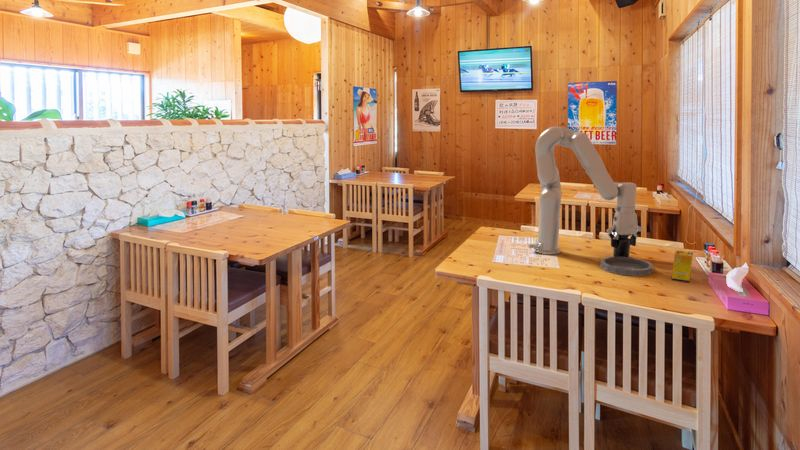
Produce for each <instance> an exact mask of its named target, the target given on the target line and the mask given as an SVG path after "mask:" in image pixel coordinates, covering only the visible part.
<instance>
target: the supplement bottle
mask: <svg viewBox="0 0 800 450" xmlns="http://www.w3.org/2000/svg"><path fill="white" fill-rule="evenodd" d="M616 239H617V247H616V248H614V247H613V250H612V252H613V254H612V257H630V252H631V245H630V244H631V240H630V235H618V237H617V238H616Z"/></svg>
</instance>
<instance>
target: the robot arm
mask: <svg viewBox="0 0 800 450" xmlns="http://www.w3.org/2000/svg"><path fill="white" fill-rule="evenodd" d="M556 145H557V146H560V147H565V148H568V149H571V150H572V151H573V153H574V155H575V156H576V158H577V160H578V161H579V163H580V165H581V167H582V168H583V170H584V171H585V173H586V175H587V176H588V177H589V179H590V180H591V183H592V184H593V185H594V187H595V188H596V190H597V193H598V194H599V196H600V197H601V198H602V199H603V200H605V201H613V200H615V199H616V207H615V208H614V211H615V213H614V216H613V221H612V225H611V226H610V227H609V228H607V229H606V233H607V236H608V237H609V238H610V246H611V248H613V249H614V248H616V247H617V239H616V238H617V237H618V235H629V239H630V240H631V244H630V246H632V247H636V243H637V238H638V236H639V235H640V234H641V231H642V229H643V227H642V226H640V225H638V224H639V223H638V214H637V212H636V202H637V201H636V199H637V198H636V197H637V184H636V183H634V182H629V181H627V182H615V181H614V180H613V178H612V177H611V174H609V172H608V170H607V168H606V166H605V164H604V163H605V162H604V161H603V159H602V158H601V156H600V154H599V152H598V151H597V149H596V148H595V146H594V144H593V143H592V141H591V139H590V138H589V136H588V135H587V133H585V132H582V131H577V130H574V129H573V130H572V129H569V128H566V127H565V128H564V127H561V126H556V125H554V126H550V127H548V128H547V129H545V130H544V131H543V132H542V133H541V134H540V135H539V136H538V138H537V140H536V142H535V146H534V149H535V150H534V151H535V162H536V170H537V180H539V186H540V192H541V193H540V194H539V199H538V200H539V202H538V203H539V204H538V205H539V207H538V211H539V213H538V231H537V233H538V234H537V240H536V241H535V242H534V243H528V245H527V247H528V248H529V249H534V252H535V251H536V252H535V253H537V252H538V254H541V253H542V255H558V254H559V255H560V253H562V249H561V248H559V235H560V217H561V216H560V215H561V202H562V188H561V187H562V186H561V179H560V170H559V168H558V167H557V165H556V157H555V147H556Z"/></svg>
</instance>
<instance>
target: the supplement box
mask: <svg viewBox="0 0 800 450" xmlns="http://www.w3.org/2000/svg"><path fill="white" fill-rule="evenodd" d="M693 255H694V253H693V251H686V250H675V253H674V256H673V257H674V258H673V268H672V276H671V281H676V282H681V283H682V282H683V283H687V284H688V283H690V280H691V272H692V264H693Z"/></svg>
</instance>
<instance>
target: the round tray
mask: <svg viewBox="0 0 800 450" xmlns="http://www.w3.org/2000/svg"><path fill="white" fill-rule="evenodd" d="M599 262H600V264H599V266H600V268H601V269H602V270H603V271H605V272H607V273H611V274H615V275H619V276H626V277H644V276H649V275H651V274H653V271H654V265H653V264H652V263H651V262H649V261H647V260H645V259H641V258H635V257H631V256H629V257H614V256H606V257H603V258H602V259H600V261H599Z"/></svg>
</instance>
